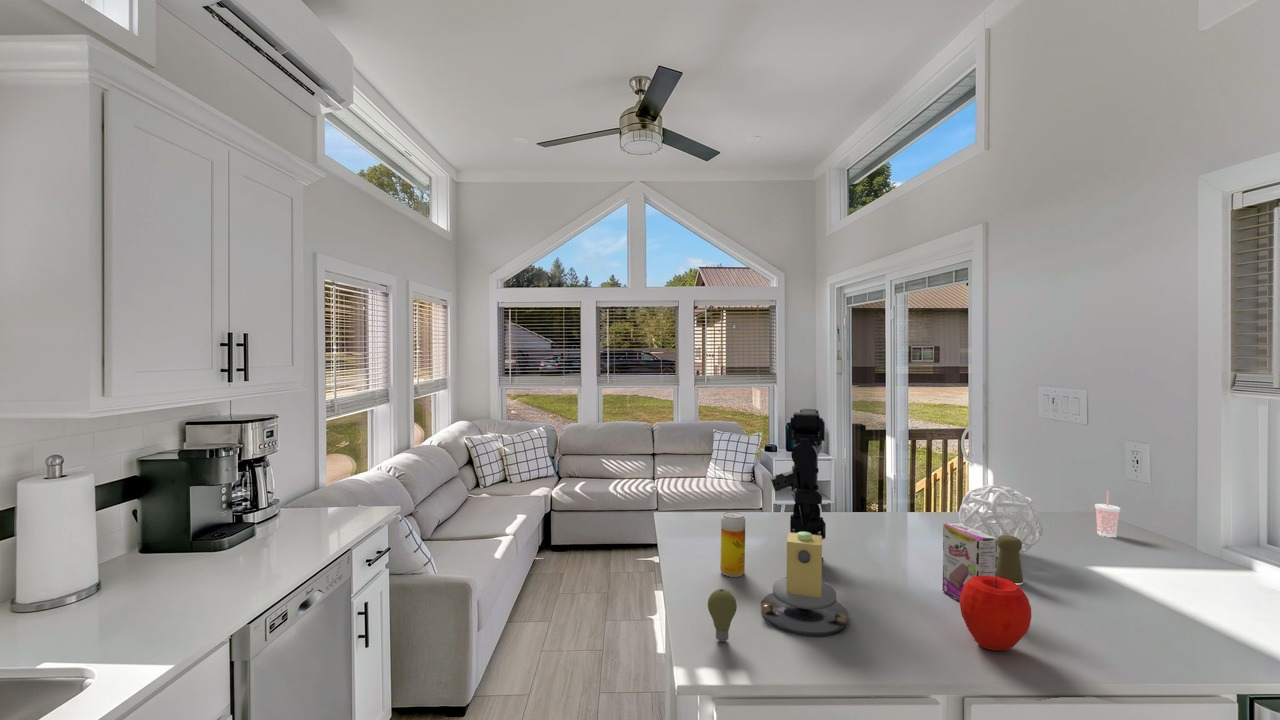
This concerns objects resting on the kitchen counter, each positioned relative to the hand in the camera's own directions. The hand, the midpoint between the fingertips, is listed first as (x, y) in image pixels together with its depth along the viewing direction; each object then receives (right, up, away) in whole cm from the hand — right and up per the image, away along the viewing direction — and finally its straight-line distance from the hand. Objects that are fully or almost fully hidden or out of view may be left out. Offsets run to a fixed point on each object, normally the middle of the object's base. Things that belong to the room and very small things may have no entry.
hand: (804, 525), depth 139 cm
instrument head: (-6, -9, -20) cm, 23 cm away
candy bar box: (+33, -14, -13) cm, 38 cm away
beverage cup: (+104, -13, +34) cm, 110 cm away
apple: (+27, -14, -32) cm, 44 cm away
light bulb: (-25, -14, -31) cm, 42 cm away
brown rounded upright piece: (+50, -14, -1) cm, 52 cm away
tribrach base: (-6, -13, -20) cm, 25 cm away
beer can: (-18, -13, +2) cm, 22 cm away
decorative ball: (+59, -13, +16) cm, 62 cm away
